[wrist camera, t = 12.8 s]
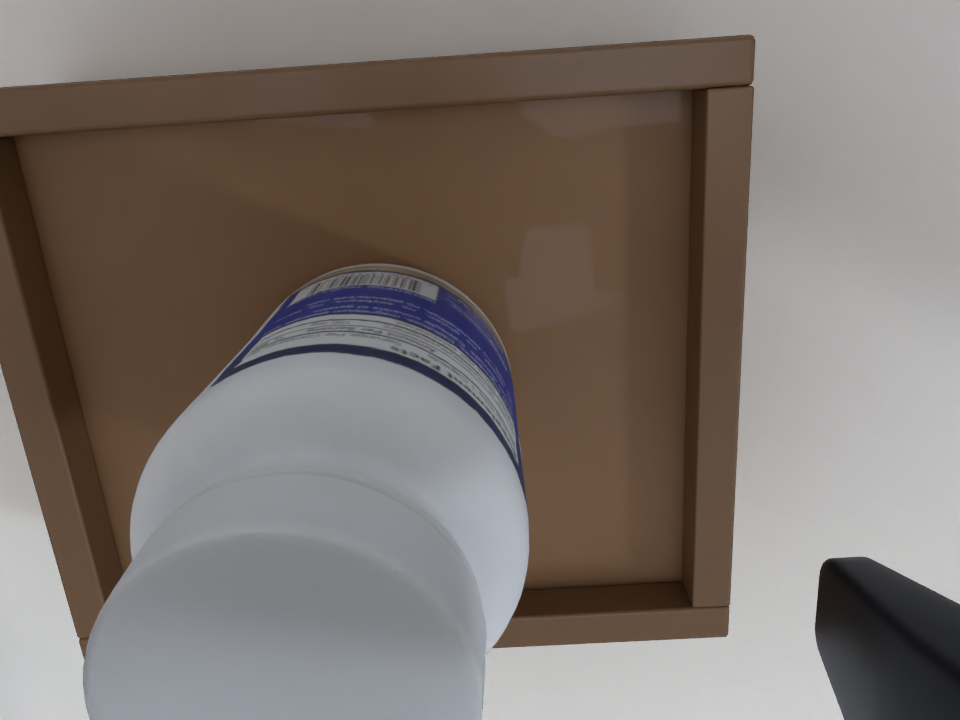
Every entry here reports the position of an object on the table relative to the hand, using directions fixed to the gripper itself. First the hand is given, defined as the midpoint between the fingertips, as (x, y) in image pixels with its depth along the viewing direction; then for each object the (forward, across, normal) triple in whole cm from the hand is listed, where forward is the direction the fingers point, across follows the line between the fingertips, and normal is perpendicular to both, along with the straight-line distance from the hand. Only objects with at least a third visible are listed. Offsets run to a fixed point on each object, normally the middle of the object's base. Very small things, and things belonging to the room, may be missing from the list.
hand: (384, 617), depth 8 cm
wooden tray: (+12, +1, 0) cm, 12 cm away
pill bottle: (+8, +1, 0) cm, 8 cm away
